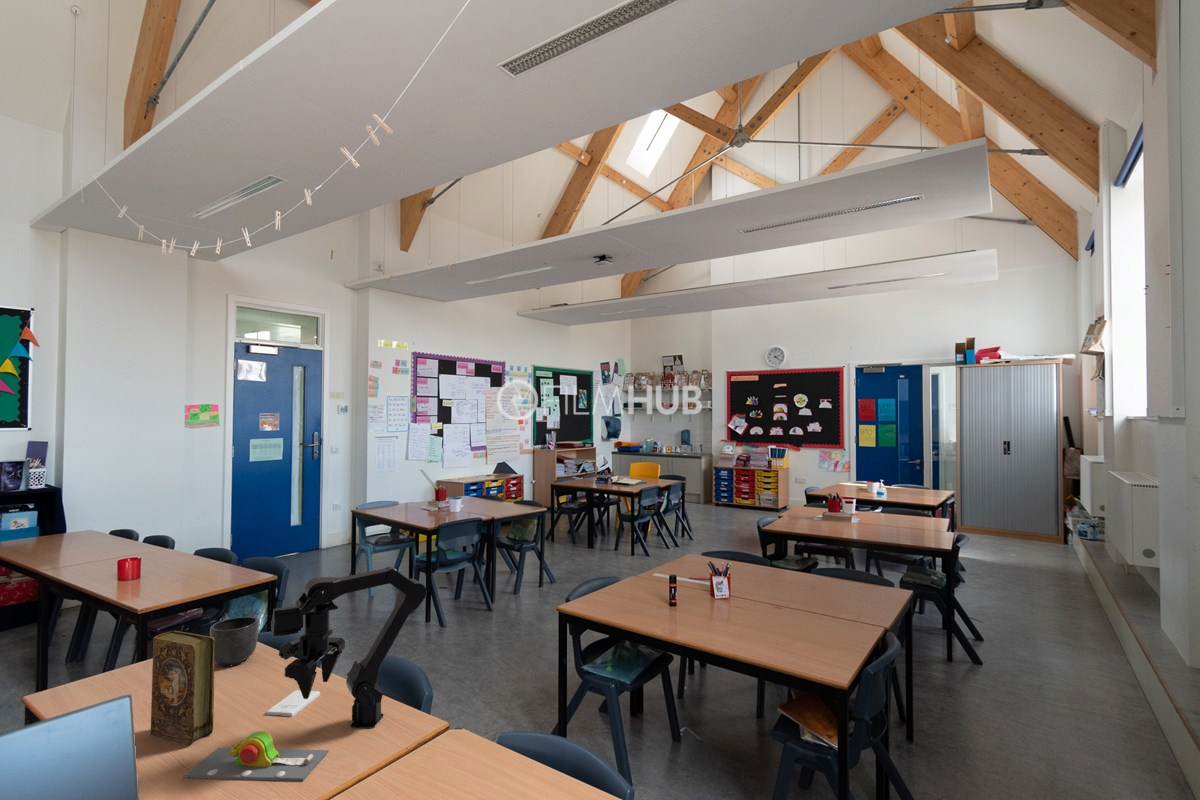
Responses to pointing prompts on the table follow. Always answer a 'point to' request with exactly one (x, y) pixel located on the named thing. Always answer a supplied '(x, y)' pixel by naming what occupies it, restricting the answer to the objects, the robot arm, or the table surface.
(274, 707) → the external hard drive
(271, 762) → the toy measuring tape
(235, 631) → the planter
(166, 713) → the book
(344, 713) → the table surface
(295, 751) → the marked mat
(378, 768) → the table surface
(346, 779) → the table surface
